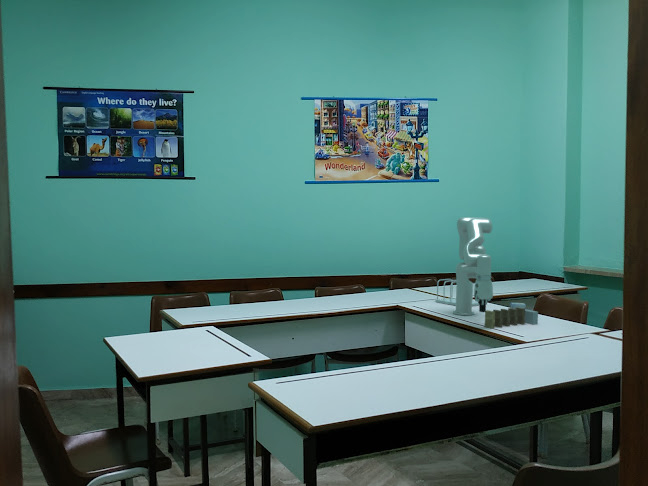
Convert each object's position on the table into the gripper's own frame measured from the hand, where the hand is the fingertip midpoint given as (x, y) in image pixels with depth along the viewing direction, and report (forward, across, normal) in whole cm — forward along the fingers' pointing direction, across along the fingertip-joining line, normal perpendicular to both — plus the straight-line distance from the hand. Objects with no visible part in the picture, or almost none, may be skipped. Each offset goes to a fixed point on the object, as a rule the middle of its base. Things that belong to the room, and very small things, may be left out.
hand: (482, 311), depth 338 cm
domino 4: (+9, +24, +1) cm, 26 cm away
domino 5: (+9, +30, +1) cm, 32 cm away
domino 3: (+9, +18, +1) cm, 20 cm away
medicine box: (+9, +44, +14) cm, 47 cm away
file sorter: (+8, +48, +69) cm, 84 cm away
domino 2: (+9, +12, +1) cm, 15 cm away
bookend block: (+9, +37, +1) cm, 38 cm away
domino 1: (+9, +6, +1) cm, 11 cm away
